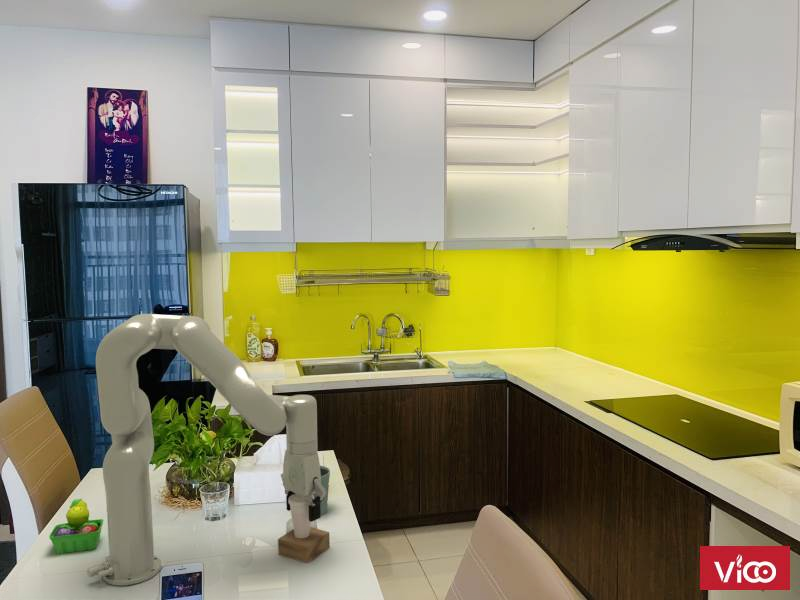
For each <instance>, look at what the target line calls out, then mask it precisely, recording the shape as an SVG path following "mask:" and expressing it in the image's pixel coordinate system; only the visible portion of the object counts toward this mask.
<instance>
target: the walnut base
mask: <svg viewBox="0 0 800 600" xmlns="http://www.w3.org/2000/svg"><path fill="white" fill-rule="evenodd" d="M277 547H278V548H277V550H278V551H277V552H278V555H279V556H282V557H286V558H289V559H292V560H296V561H299V562H302V563H305V564H309V563H310V562H312V561H313V560H314V559H316V558H317V557H319V556H320V555H321V554H323V553H324V552H325V551H327V550H328V549H330V547H331V546H330V532H329V531H327V530H322V529H319V528H317V529H315V528H312V527H310V535H309V536H308V537H306V538H296V537H295V535H294V529H293V530H291V531H290V532H288V533H285V534H283V535H282V536H280V537H279V538H278V539H277Z"/></svg>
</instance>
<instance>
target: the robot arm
mask: <svg viewBox="0 0 800 600" xmlns="http://www.w3.org/2000/svg"><path fill="white" fill-rule="evenodd" d="M153 349H157V350H158V349H159V350H175V351H176V352H177V353H179V355H180V356H182V357H183V358H184V360H186V361H187V362H188V363H189V364H190V365H191V366H192V367H193V368H194V369H195V370H196V371H198V372H199V373H200V374H201V375H202V376H203V378H205V379H206V380H207V381H208V382H209V383H210V384H211V385H212V386H213V387H214V388H215V389H216V390H217V392H218V393H219V394H220V395H221V396H222V397H223V398H224V400H226V401H227V402H228V403H229V405H230V406H231V407H232V409H234V410H235V411H236V412H237V413H238V414H239V415H240V416H241V417H242V418H243V419H244V420H245V421H246V422H247V423H248V425H250V426H252V427H253V428H254V429H255V431H257V432H259V433H260V434H262V435H265V436H271V437H272V436H275V435H277V434H279V433H281V432H282V431H283V430H284V429H285V428H286V431H285V432H286V434H285V435H286V437H285V438H286V440H285V441H286V449H285V450H284V456H283V465H282V473H281V474H280V479H281V481H282V486H283V487H284V493H285V495H286V496H285V499H286V501H285V502H286V503H285V504H286V505H285V506H286V511H288V512H291V509H290V504H289V503H288V498H289V497H290V496H291V495H293V494H298V495H301V496H303V497H306V496H307V497H308V500H309V502H310V505H309V521H310V522H312V521H315V520H316V521H317V520H319V519H321V517H322V516H321V509H320V503H322V501H323V499H324V497H325V494H326V490H325V488H324V487H323V486H322V484H321V472H320V466H321V464H320V457H319V453H318V407H317V406H318V404H317V400H316V398H315V396H314V395H313V396H312V395H310V394H294V395H292V396H291V395H289V396H288V395H277V394H267V393H266V392H265V391H264V389H262V387H260V386H259V385H258V383H256V381H255V379H254V378H252V376H251V374H250V372H249V371H248V369H247V367H246V365H245V364H244V362H243V361H242V360H241V359H240V358H239V357H238V356H237V355H236V354H235V353H234V352H233V351H232V350H231V349H230V348H229V347H227V345H225V343H223V342H222V340H220V339H219V338H218V337H217V335H215V334H214V333H213V332H212V331H211V328H210V325H209V324H208V323H207V321H206V320H205V319H203V318H201V317H199V316H196V315H177V314H157V313H139V314H136V315H133V316H131V317H130V318H129V319H126V320H125V321H124V322H122V323H120V324H119V325H117V326H115V327H114V328H113V329H112V330H110V331H109V332H108V333H107V334H106V335H105V336H104V337H103V338H102V340H101V341H100V343H99V344H98V347H97V350H96V352H95V353H96V355H95V371H96V373H95V374H96V380H97V381H96V383H97V393H98V403H99V412H100V413H99V414H100V422H101V424H102V428H104V430H105V431H106V433H109V434H110V435H111V445H110V446H109V449H108V450H107V452H106V454H105V455H104V459H103V463H102V479H103V484H104V490H105V499H106V500H105V501H106V514H107V533H108V534H107V536H108V551H109V552H108V555H107V556H105V557H104V561H103V562H101V564H99V565H95V566H92V567H89V568H87V570H86V572H87V577H88V578H92V577H95V576H97V578H98V579H101V578H102V580H103V581H104V582H105V583H107V584H109V585H112V586H131V585H136V584H139V583H143V582H145V581H148V580H149V579H152V577H154V576H156V575H157V574H158V573H159V572H160V571H161V568H162V561H161V559H160V558H159V557H158V556H155V550H154V529H153V528H154V527H153V509H152V508H153V507H152V492H151V482H150V479H151V478H150V463H151V461H152V458H153V455H154V451H155V440H154V432H153V431H154V430H153V429H154V428H153V420H152V419H153V418H152V412H151V405H150V400H149V397H148V395H147V394H146V392H144V391H143V389H141V388H140V387H139V385H140V384H139V373H138V369H137V361H138V360H139V358H140V357H141V356H142V355H145V354H147V353H148V352H150V351H151V350H153ZM311 491H313V492H311ZM314 494H315V497H316V498H315V499H314V500H313V497H312V495H314Z"/></svg>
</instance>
